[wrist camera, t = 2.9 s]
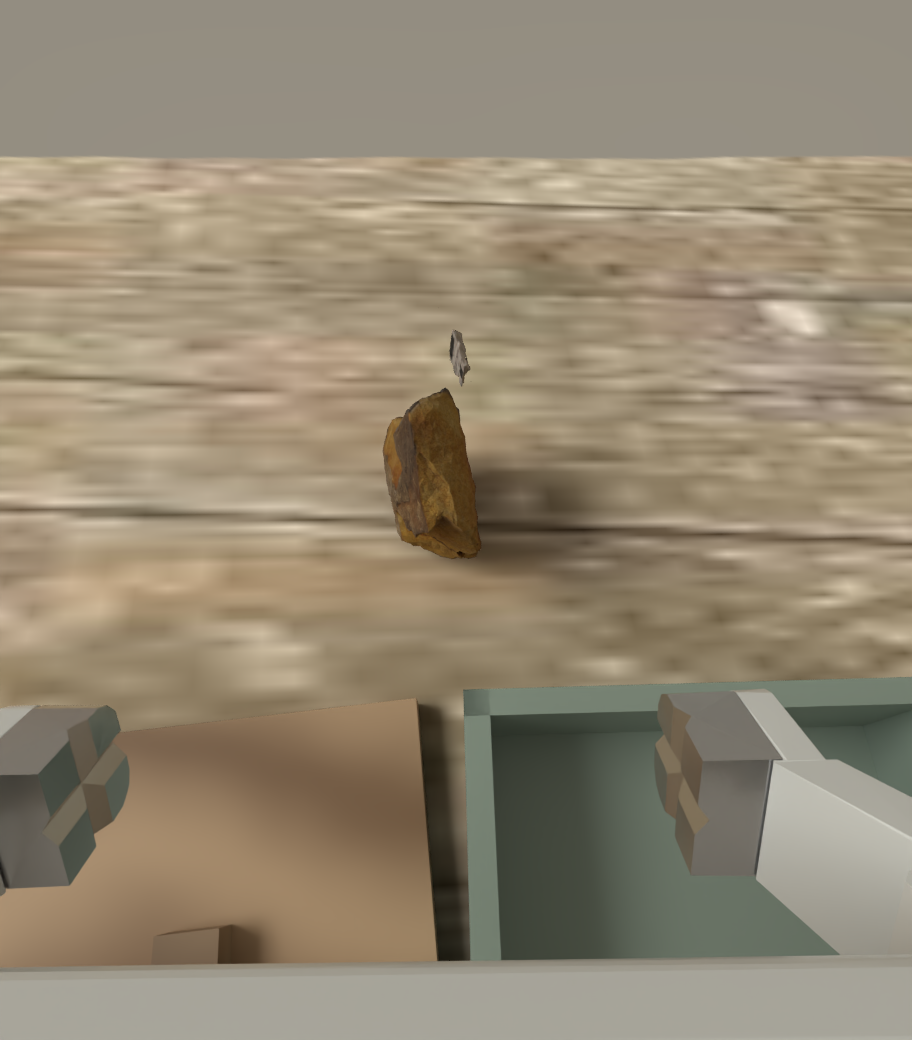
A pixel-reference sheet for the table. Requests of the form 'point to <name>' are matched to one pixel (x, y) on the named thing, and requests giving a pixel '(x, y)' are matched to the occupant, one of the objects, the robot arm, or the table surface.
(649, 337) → the table surface
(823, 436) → the table surface
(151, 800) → the lid
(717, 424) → the table surface
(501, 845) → the bin
